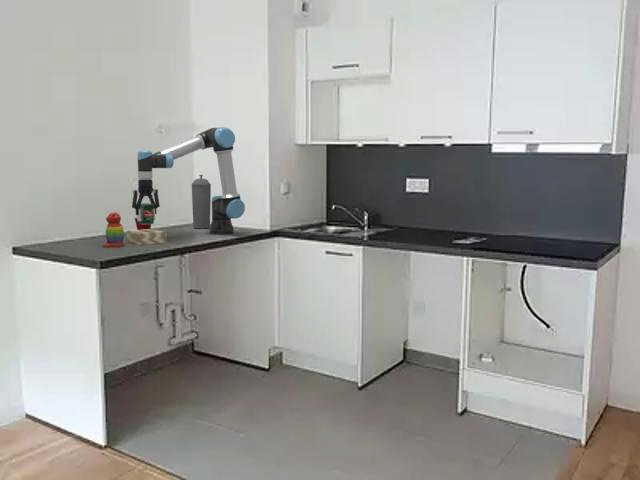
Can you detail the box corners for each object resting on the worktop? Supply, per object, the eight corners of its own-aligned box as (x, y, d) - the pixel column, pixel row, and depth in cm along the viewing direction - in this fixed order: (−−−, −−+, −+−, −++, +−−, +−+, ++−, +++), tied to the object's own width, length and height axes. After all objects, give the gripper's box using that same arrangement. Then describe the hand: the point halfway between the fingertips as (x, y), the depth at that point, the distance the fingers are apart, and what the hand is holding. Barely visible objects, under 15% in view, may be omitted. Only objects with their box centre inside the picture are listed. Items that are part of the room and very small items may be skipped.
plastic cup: (152, 235, 369) (152, 215, 367) (154, 238, 359) (153, 217, 357) (133, 236, 365) (133, 215, 364) (134, 238, 355) (134, 217, 354)
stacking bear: (108, 244, 333) (107, 211, 330) (127, 244, 333) (126, 211, 330) (101, 247, 322) (100, 213, 320) (120, 247, 322) (119, 213, 319)
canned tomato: (144, 222, 347) (143, 203, 345) (156, 223, 344) (156, 203, 343) (136, 224, 339) (135, 204, 338) (148, 224, 337) (148, 204, 335)
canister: (197, 226, 416) (196, 174, 411) (214, 227, 412) (214, 174, 407) (188, 228, 403) (187, 174, 399) (206, 229, 400) (205, 175, 395)
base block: (153, 239, 354) (153, 228, 354) (166, 242, 342) (166, 231, 342) (127, 241, 344) (126, 230, 343) (139, 244, 332) (139, 233, 331)
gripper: (159, 178, 348) (160, 218, 351) (124, 179, 335) (125, 221, 338) (165, 179, 342) (166, 220, 345) (130, 179, 329) (131, 222, 332)
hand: (146, 220), depth 342 cm, fingers closed on canned tomato, 8 cm apart
